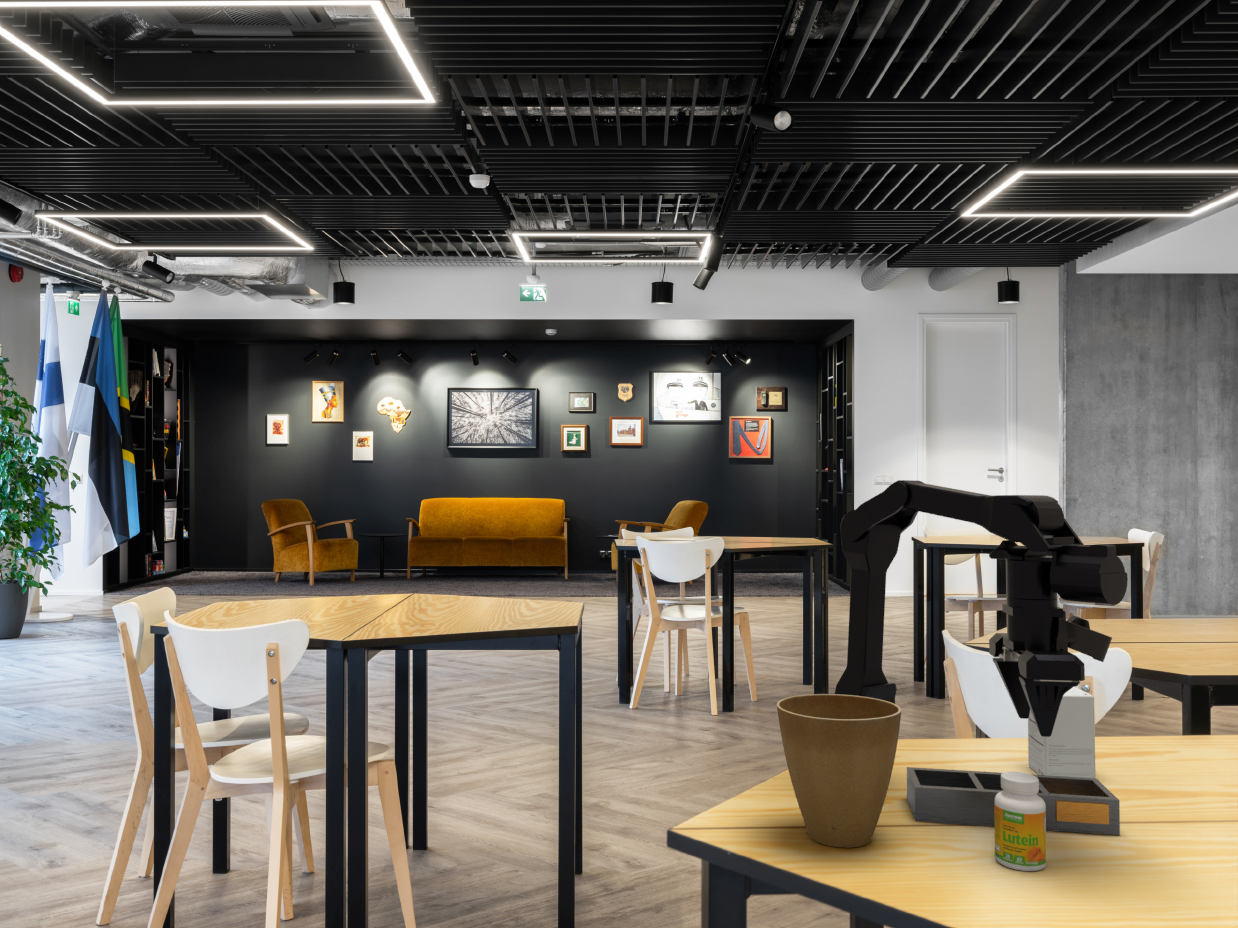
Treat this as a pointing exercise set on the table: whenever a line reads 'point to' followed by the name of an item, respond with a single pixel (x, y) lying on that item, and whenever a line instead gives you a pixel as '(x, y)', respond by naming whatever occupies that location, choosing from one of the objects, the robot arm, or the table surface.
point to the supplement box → (1066, 739)
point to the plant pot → (839, 762)
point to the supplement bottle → (1020, 823)
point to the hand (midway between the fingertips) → (1034, 726)
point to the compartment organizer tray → (974, 791)
